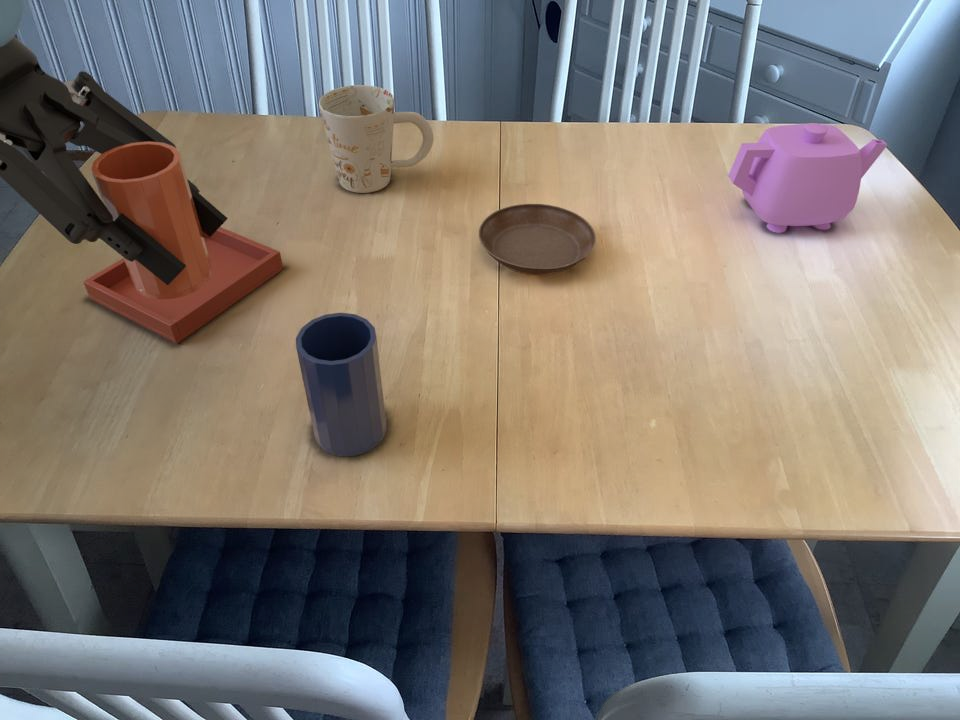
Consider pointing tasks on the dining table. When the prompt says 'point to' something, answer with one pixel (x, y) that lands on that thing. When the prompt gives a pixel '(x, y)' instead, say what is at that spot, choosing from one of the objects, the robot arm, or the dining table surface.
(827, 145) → the teapot
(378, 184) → the mug
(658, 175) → the dining table surface
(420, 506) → the dining table surface
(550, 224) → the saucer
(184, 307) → the red tray
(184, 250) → the terracotta tumbler
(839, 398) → the dining table surface
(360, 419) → the blue tumbler
